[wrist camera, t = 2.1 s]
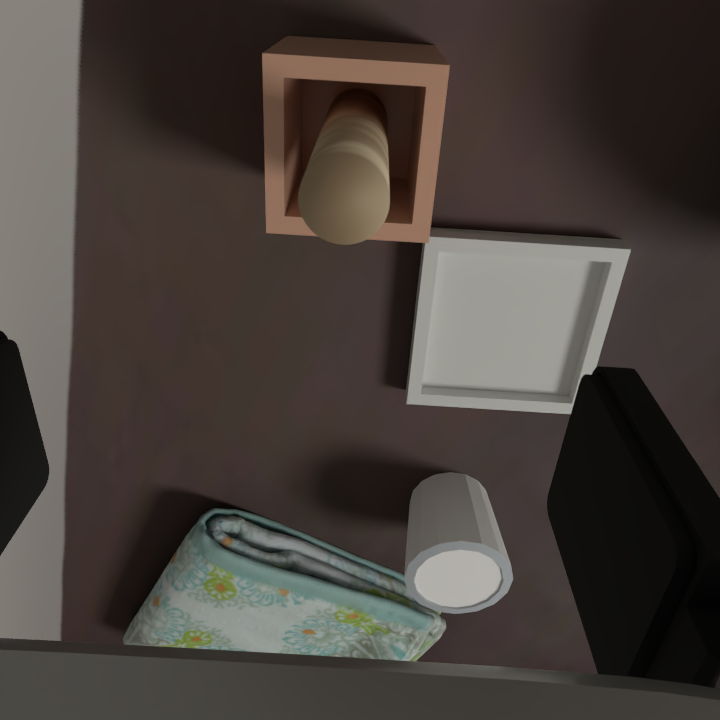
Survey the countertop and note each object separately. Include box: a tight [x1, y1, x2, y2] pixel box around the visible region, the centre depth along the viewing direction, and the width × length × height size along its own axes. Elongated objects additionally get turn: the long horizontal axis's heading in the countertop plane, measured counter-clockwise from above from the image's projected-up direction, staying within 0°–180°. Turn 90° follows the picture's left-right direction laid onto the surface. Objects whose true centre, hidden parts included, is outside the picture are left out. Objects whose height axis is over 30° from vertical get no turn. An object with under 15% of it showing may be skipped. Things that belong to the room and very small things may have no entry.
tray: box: [406, 227, 631, 414], centre depth 37 cm, size 11×11×2 cm
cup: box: [262, 36, 450, 243], centre depth 29 cm, size 7×7×8 cm
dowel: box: [298, 88, 390, 245], centre depth 26 cm, size 3×3×13 cm
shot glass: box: [404, 472, 513, 614], centre depth 43 cm, size 7×7×7 cm
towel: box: [123, 508, 446, 661], centre depth 51 cm, size 18×21×5 cm
